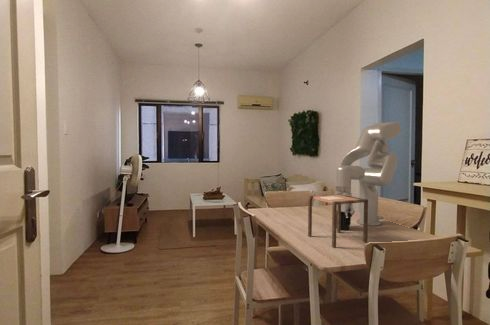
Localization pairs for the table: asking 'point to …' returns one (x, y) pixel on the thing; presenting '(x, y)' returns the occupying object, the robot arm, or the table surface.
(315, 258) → the table surface
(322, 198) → the trapdoor
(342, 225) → the supplement bottle
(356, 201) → the stand
